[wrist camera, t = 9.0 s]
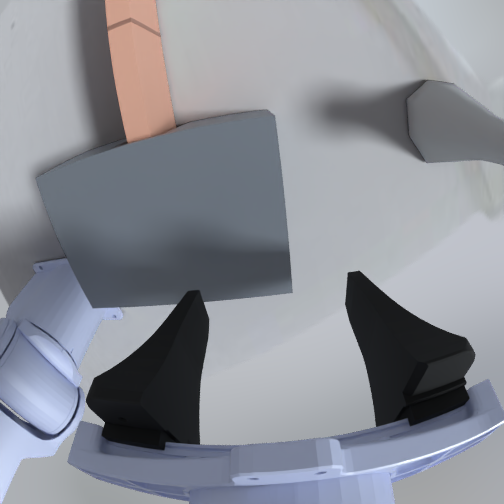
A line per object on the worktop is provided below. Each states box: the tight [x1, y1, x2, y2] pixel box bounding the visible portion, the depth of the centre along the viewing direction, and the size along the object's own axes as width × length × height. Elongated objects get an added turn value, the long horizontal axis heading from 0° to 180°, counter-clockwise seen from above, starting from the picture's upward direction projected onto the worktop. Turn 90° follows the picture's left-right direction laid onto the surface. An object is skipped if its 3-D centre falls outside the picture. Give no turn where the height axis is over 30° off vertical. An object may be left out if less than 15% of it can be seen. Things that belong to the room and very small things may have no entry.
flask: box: [407, 80, 504, 165], centre depth 12 cm, size 7×7×10 cm
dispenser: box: [36, 110, 293, 308], centre depth 17 cm, size 14×10×7 cm
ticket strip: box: [105, 0, 176, 143], centre depth 12 cm, size 1×16×5 cm, turn 8°
